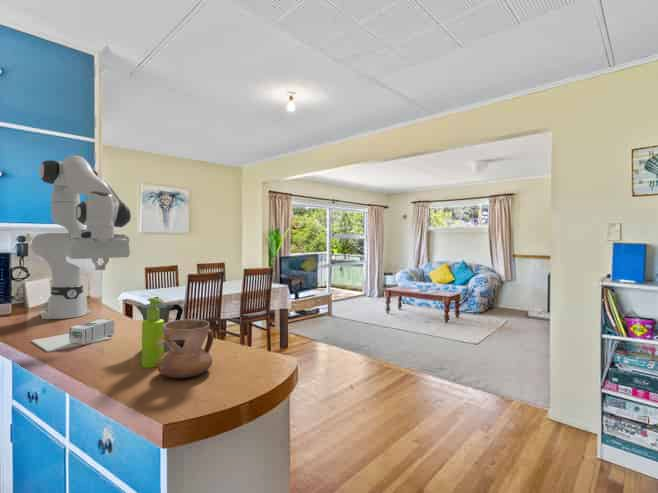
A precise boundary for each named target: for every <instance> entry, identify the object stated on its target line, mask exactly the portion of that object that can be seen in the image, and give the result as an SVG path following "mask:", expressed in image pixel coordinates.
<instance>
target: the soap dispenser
mask: <svg viewBox="0 0 658 493" xmlns="http://www.w3.org/2000/svg"><path fill="white" fill-rule="evenodd" d="M147 301H148V302H149V304H150V308H149V309H148V310H147V320H145V321H143V320H142V322H141V367H142V368H147V369H149V368H150V369H151V368H152V369H153V368H157V363H158V360H159V359H160V358H161V357H162V356H163V355H164V354H165V352H164V344H163V345H160V346H159V345H158V344H157V343H156V342H157V341H158V340H160V339H162V338H164V334H163V325H164V320H163V319H159V309H158V308H156V302H157V303H164V302H165V300H164V299H162V298H160V297H159V298H155V297H152V298H147Z"/></svg>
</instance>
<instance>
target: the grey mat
mask: <svg viewBox="0 0 658 493" xmlns="http://www.w3.org/2000/svg"><path fill="white" fill-rule="evenodd" d="M109 340H112V337H111V336H110V337H109V336H106V337H103V338H101V339H98V340H95V341H92V342H89V343H86V344H74V343H69V333H64V334H59V335H54V336H49V337H42V338H35V339H32V340H30V341H31V343H32V344H34V345H35V346H38V348H41V350H43V351H45V352H46V353H50V352H56V351H60V350H65V349H70V348H75V347H79V346H80V347H81V346H87V345H89V344H95V343H100V342H105V341H109Z"/></svg>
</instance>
